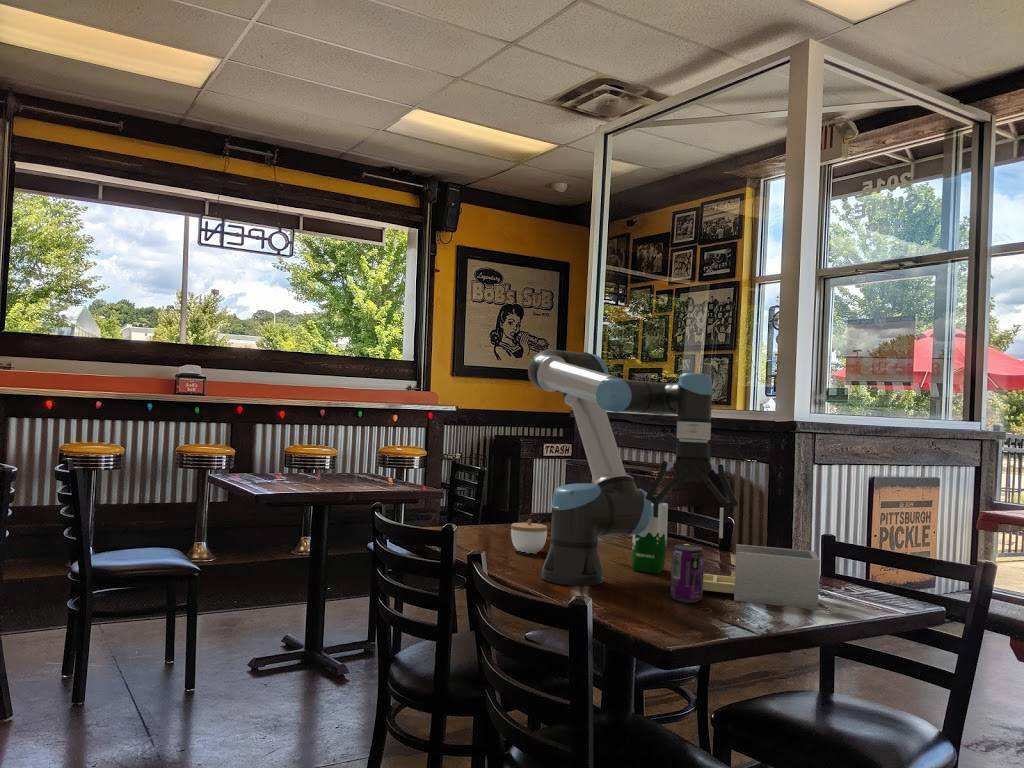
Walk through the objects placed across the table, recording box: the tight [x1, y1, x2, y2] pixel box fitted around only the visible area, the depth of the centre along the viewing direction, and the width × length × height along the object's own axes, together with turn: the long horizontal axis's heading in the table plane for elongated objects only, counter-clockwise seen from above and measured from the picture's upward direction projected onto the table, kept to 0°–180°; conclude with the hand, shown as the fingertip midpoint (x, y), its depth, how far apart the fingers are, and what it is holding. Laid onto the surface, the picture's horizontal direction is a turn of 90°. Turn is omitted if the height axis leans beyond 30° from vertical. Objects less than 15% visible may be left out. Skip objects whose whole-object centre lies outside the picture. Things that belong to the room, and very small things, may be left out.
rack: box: [683, 543, 735, 594], centre depth 193 cm, size 18×14×10 cm
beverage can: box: [669, 544, 705, 604], centre depth 183 cm, size 7×7×12 cm
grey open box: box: [733, 543, 821, 611], centre depth 190 cm, size 18×14×11 cm
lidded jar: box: [510, 518, 548, 554], centre depth 238 cm, size 11×11×9 cm
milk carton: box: [631, 494, 669, 574], centre depth 218 cm, size 9×9×20 cm
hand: (689, 535), depth 183 cm, fingers open, 13 cm apart
